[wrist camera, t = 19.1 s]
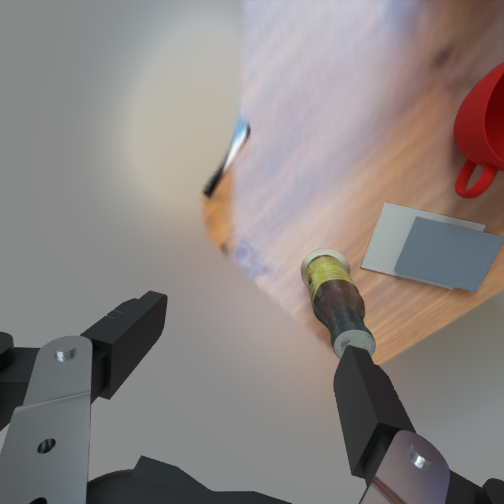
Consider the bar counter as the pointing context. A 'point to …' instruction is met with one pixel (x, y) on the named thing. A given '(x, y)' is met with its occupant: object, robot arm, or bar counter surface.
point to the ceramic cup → (481, 132)
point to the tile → (448, 254)
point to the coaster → (323, 252)
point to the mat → (400, 238)
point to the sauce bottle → (338, 304)
